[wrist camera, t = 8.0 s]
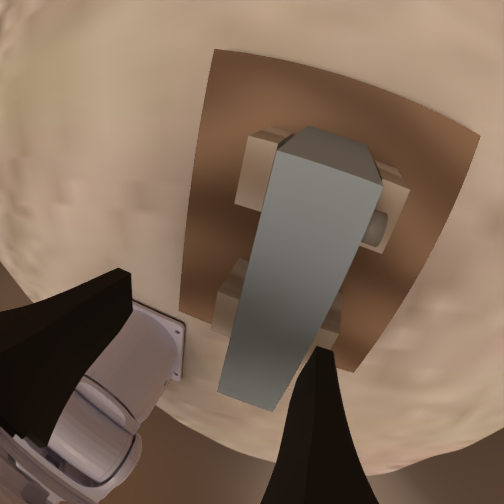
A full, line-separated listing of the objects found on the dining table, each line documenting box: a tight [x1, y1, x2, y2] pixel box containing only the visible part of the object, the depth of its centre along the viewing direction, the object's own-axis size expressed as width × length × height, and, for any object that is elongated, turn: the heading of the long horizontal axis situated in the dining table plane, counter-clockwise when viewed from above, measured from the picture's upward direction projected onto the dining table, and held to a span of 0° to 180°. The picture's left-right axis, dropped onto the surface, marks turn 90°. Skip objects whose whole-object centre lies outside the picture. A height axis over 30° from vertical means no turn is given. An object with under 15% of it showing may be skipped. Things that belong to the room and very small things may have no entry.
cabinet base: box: [179, 49, 480, 373], centre depth 16 cm, size 18×14×5 cm
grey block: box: [217, 126, 388, 412], centre depth 14 cm, size 12×4×7 cm, turn 168°
